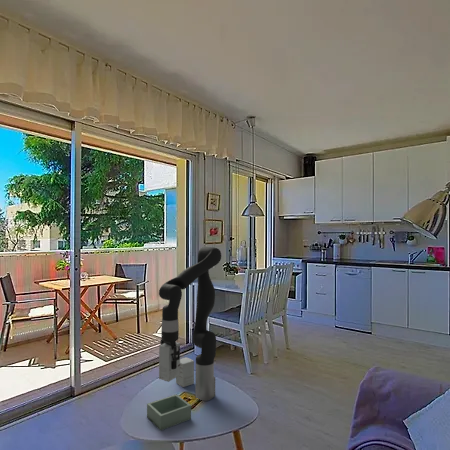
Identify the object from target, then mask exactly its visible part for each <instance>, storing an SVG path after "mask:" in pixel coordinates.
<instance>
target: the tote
mask: <svg viewBox="0 0 450 450" xmlns="http://www.w3.org/2000/svg"><path fill="white" fill-rule="evenodd" d="M146 418H147V419H148V420H149V421H150V422H151V423H152V424H153V425H154V426H155V427H156V428H157V429H158V430H159V431H160V432H161V431H164V430H165V429H168V428H171V427H174V426H176V425H179V424H182V423H184V422H187V421H189V420H191V419H192V405H191V404H190V403H189V402H188V401H186V400H185V399H183V397H181V396H179V395H178V394H173V395H170V396H167V397H164V398H161V399H158V400H155V401H152V402H148V403H146Z"/></svg>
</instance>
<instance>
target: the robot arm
mask: <svg viewBox="0 0 450 450" xmlns="http://www.w3.org/2000/svg"><path fill="white" fill-rule="evenodd" d="M221 259H222V252H221V250H220V248H217V247H213V246H212V247H211V246H202V247H200V249H198V252H197V263H195V264H193V265H190V266H188V267H186V268H185V269H184V270H182V271H181V272H179V274H178V275H176V276H175V277H174V278H171V279H170V280H168V281H165V282H164V283H163V284H162V285H161V286H160V287H159V289H158V296H159V297H160V298H161V299H162V300H167V301H168V304H167V305H164V306H163V307H162V310H161V312H162V314H161V320H162V321H161V331H160V332H161V339H160V340H159V341H160V343H159V344H160V345H162V344H164V343H166V344H168V345H170V346H171V348H172V350H173V349H174V350H173V351H174V353H171V360H172V361H171V369H176V368H177V360H180V359H181V345H180V346H176V342H177V341H178V340H179V307H180V304H181V300H182V298H183V292H182V291H183V290H186V289H187V288H189V286H190V285H192V283H194V282H195V281H196V280H197V289H196V290H197V292H196V308H195V309H196V311H195V321H194V326H193V333H192V342H193V345H194V346H195V347H197V348H199V349H201V352H200V354H197V355H196V356H195V383H194V384H195V385H194V386H195V390H194V392H195V396H196V397H195V399H196V398H198V399H200V400H199V401H201V400H202V401H203V402H205V401H207V402H208V401H210V400H212V399H213V398H214V397H216V376H215V358H216V353H217V352H216V351H217V336H216V334H215V332H213V331H212V330H211V331H210V330H207V329H208V328H207V323H208V318H209V316H210V314H211V313H212V311H213V309H214V306H215V302H216V289H215V287H214V286H215V285H214V284H213V281H212V279H211V277H210V272H209V270H210V269H212V268H214V267H216V266H217V265H218V264H219V263H220V262H221ZM160 345H159V346H160ZM173 355H174V358H173ZM198 399H197V400H198Z"/></svg>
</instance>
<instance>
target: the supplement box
mask: <svg viewBox="0 0 450 450" xmlns="http://www.w3.org/2000/svg"><path fill="white" fill-rule="evenodd" d="M175 383H176V384H177V385H179V386H180V387H182V388H185V387H187V386H188V387H189V386H191V385H193V384H195V361H194V360H193V359H191V358H189V357H182V358H180V376H178V377H176V378H175Z"/></svg>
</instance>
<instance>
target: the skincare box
mask: <svg viewBox="0 0 450 450" xmlns="http://www.w3.org/2000/svg"><path fill="white" fill-rule="evenodd" d="M176 346H180V347H181V343H180V342H177V341H176ZM158 347H159V349H158V350H159V351H158V352H159V353H158V354H159V355H158V356H159V357H158V364H159V365H158V379H159V380H160V381H161V380H162V381H165V382H168V383H169V382H171V381H172V380H174V379H176V377H178V376H180V360H177V368H176V369H171V361H172V360H171V353H174V351H173V350H174V349H173V350H172V348H171V346H170V345H168V344H166V343H164V344H162V345H159V346H158ZM173 358H174V355H173Z"/></svg>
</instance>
